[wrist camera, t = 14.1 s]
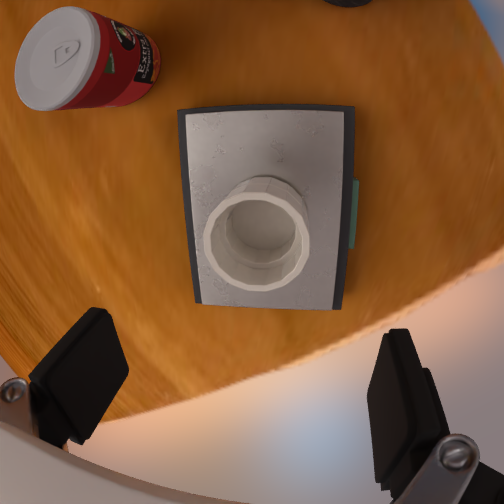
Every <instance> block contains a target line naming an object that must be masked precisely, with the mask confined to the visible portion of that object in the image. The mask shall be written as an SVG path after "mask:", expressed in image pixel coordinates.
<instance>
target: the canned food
mask: <svg viewBox="0 0 504 504" xmlns="http://www.w3.org/2000/svg"><path fill="white" fill-rule="evenodd" d="M160 66H161V57H160V52H159V50H158V48H157V46H156V44H155V42H154V41H153V40H152V38H151V37H149V36H148V35H146V34H145V33H143V32H140V31H138V30H136V29H134V28H131V27H129V26H127V25H124V24H122V23H120V22H117V21H115V20H112V19H110V18H107V17H105V16H102V15H100V14H97V13H95V12H91V11H88V10H85V9H82V8H78V7H62V8H59V9H56V10H54V11H52V12H50V13H48V14H47V15H46V16H44V17H43V18H41V19H40V20H39V21H38V22H37V23H36V24H35V25H34V27H33V28H32V29H31V30H30V32H29V33H28V35H27V36H26V38H25V40H24V41H23V44H22V46H21V48H20V50H19V54H18V57H17V60H16V66H15V84H16V89H17V92H18V95H19V97H20V98H21V100H22V101H23V102H24V103H25V105H26V106H28V107H30V108H31V109H34V110H42V111H51V110H65V109H78V108H94V107H119V106H124V105H127V104H130V103H132V102H134V101H136V100H137V99H139V98H141V97H142V96H143V95H145V94H146V93H147V92H148V91H149V90H150V89H151V87H152V86H153V85H154V83H155V81H156V79H157V77H158V74H159V72H160Z"/></svg>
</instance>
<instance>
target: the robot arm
mask: <svg viewBox="0 0 504 504" xmlns="http://www.w3.org/2000/svg"><path fill="white" fill-rule="evenodd" d="M128 373H129V367H128V364H127V361H126V358H125V356H124V353H123V350H122V347H121V344H120V341H119V338H118V335H117V332H116V329H115V326H114V323H113V319H112V317H111V315H110V314H109V313H108V311H107V310H106V309H102V308H96V307H91V308H90V309H89V310H88V311H87V312H86V313H85V314H84V315H83V316H82V317H81V318H80V319H79V320H78V321H77V322H76V323H75V324H74V325H73V326H72V327H71V329H70V330H69V331H68V332H67V333H66V334H65V335H64V336H63V337H62V338H61V339H60V340H59V341H58V343H57V344H56V345H55V346H54V347H53V348H52V349H51V350H50V351H49V353H48V354H47V355H46V356H45V357H44V358H43V359H42V360H41V362H40V363H39V364H38V365H37V366H36V367H35V368H34V370H33V371H32V372H31V373H30V374H29V375H28V377H29V378H30V380H31V382H30V384H28V382H27V381H26V380H25V379H23V378H19V377H17V378H12V379H9V380H7V381H6V382H4V383H3V384H2V385H1V387H0V504H249V503H241V502H234V501H228V500H222V499H216V498H211V497H206V496H200V495H196V494H191V493H186V492H182V491H178V490H174V489H170V488H166V487H162V486H159V485H155V484H152V483H149V482H145V481H142V480H139V479H135V478H133V477H129V476H126V475H124V474H121V473H118V472H115V471H112V470H110V469H107V468H104V467H102V466H99V465H96V464H94V463H91V462H89V461H87V460H84V459H82V458H80V457H77V456H75V455H73V454H71V453H69V452H68V447H67V440H68V439H70V440H71V441H73V442H75V443H77V444H80V445H83V443H84V442H85V440H87V439H89V438H90V437H91V435H92V433H93V432H94V430H95V428H96V427H97V425H98V423H99V422H100V420H101V418H102V417H103V415H104V413H105V412H106V410H107V408H108V407H109V405H110V403H111V402H112V400H113V399H114V397H115V395H116V394H117V392H118V390H119V389H120V387H121V386H122V384H123V382H124V381H125V379H126V377H127V376H128ZM367 402H368V410H369V418H370V427H371V437H372V448H373V458H374V472H375V481H376V483H381V491H384V490H390V492H391V497H392V498H393V500H392V501H391V502H390V504H504V475H503V474H501V473H499V472H497V471H496V470H494V469H492V468H490V467H488V466H487V465H485V464H483V463H481V462H480V461H479V460H480V451H479V448H478V446H477V444H476V443H475V442H474V440H473V439H471V438H470V437H468V436H466V435H462V434H450V431H449V427H448V424H447V421H446V417H445V414H444V411H443V407H442V405H441V401H440V398H439V395H438V392H437V389H436V386H435V383H434V380H433V377H432V375H431V372H430V370H429V369H428V368H422V366H421V363H420V360H419V357H418V354H417V352H416V349H415V346H414V344H413V341H412V338H411V335H410V333H409V330H408V329H390V330H389V333H385V334H384V335H383V338H382V341H381V345H380V349H379V353H378V357H377V360H376V364H375V367H374V371H373V374H372V378H371V381H370V384H369V388H368V392H367Z"/></svg>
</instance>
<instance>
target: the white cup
mask: <svg viewBox="0 0 504 504" xmlns="http://www.w3.org/2000/svg"><path fill="white" fill-rule="evenodd" d="M203 239H204V250H205V254H206V256H207V258H208V260H209V262H210V264H211V266H212V268H213V270H214V271H215V272H216V273H218V274H219V275H220V276H221V277H222V278H223V279H224V280H225V281H227V282H228V283H229V284H231V285H234V286H236V287H239V288H241V289H244V290H247V291H263V292H266V291H270V290H274V289H277V288H280V287H283V286H285V285H287V284H288V283H289V282H291V281H292V280H293V279H294V278H295V277H297V276H298V275H299V274H300V273H301V271H302V269H303V267H304V265H305V263H306V262H307V260H308V258H309V252H310V230H309V220H308V212H307V209H306V207H305V204H304V202H303V200H302V198H301V196H300V195H299V194H298V193H297V192H296V191H295V190H294V189H293V188H292V187H291V186H290V185H288V184H287V183H284V182H282V181H279V180H277V179H274V178H272V177H254V178H251V179H249V180H246V181H244V182H242V183H239V184H237V185H236V186H235V187H234V188H233V189H232V190H231V191H230V193H229V194H228V195H227V196H226V197H225V198H224V199H223V200H222V201H221V202H220V204H219V205H218V206H217V207H216V208H215V209H214V210H213V212H212V213H211V214H210V215H209V218H208V221H207V223H206V226H205V229H204V232H203Z"/></svg>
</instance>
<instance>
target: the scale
mask: <svg viewBox="0 0 504 504" xmlns="http://www.w3.org/2000/svg"><path fill="white" fill-rule="evenodd" d="M246 110H321V111H341V112H344V141H343V179H342V200H341V218H340V232H339V245H338V257H337V268H336V278H335V288H334V297H333V305H332V310H341V307H342V299H343V291H344V283H345V275H346V266H347V256H348V249H354V243H355V232H356V221H357V208H358V193H359V180H358V179H357V178H354V177H353V172H354V138H355V107H354V106H339V105H318V104H251V105H229V106H214V107H201V108H191V109H181V110H177V114H178V132H179V148H180V162H181V176H182V188H183V199H184V210H185V220H186V230H187V239H188V248H189V257H190V265H191V273H192V281H193V289H194V296H195V303H201V304H202V298H201V290H200V282H199V273H198V264H197V255H196V246H195V236H194V225H193V215H192V203H191V191H190V179H189V165H188V150H187V133H186V115H187V114H197V113H210V112H225V111H246Z"/></svg>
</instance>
